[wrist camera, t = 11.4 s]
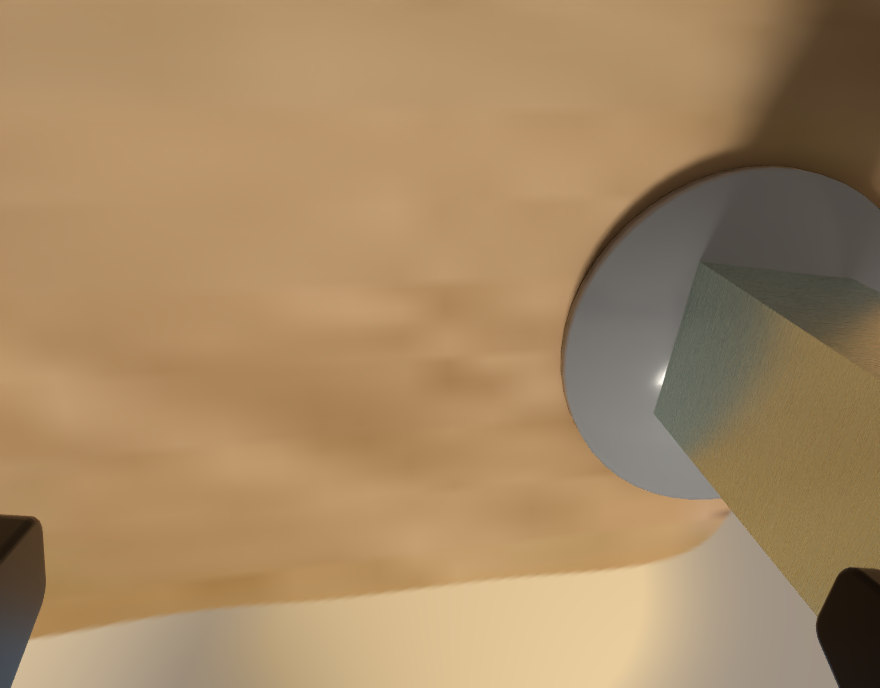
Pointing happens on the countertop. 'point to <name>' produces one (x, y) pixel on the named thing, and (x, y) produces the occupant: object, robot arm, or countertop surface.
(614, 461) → the slate coaster
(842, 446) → the sage tea tin
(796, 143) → the countertop surface
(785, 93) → the countertop surface
